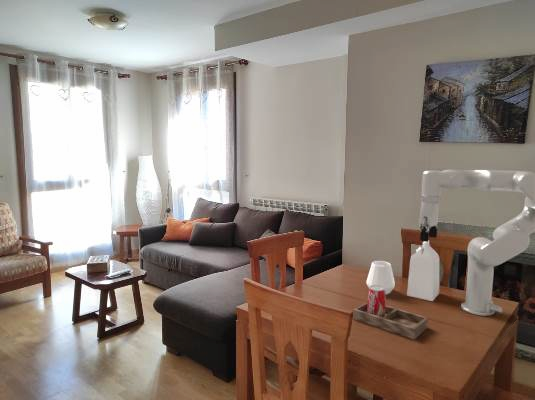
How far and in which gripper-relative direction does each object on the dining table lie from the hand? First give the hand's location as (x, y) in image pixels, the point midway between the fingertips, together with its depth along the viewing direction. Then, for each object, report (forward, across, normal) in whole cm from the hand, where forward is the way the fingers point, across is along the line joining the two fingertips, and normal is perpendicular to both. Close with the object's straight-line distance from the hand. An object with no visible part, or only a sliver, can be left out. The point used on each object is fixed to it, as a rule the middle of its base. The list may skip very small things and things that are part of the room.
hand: (428, 239), depth 163 cm
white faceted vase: (+31, -4, -23) cm, 38 cm away
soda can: (+30, +26, -10) cm, 40 cm away
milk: (+31, -14, -6) cm, 34 cm away
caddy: (+30, +26, -4) cm, 40 cm away
